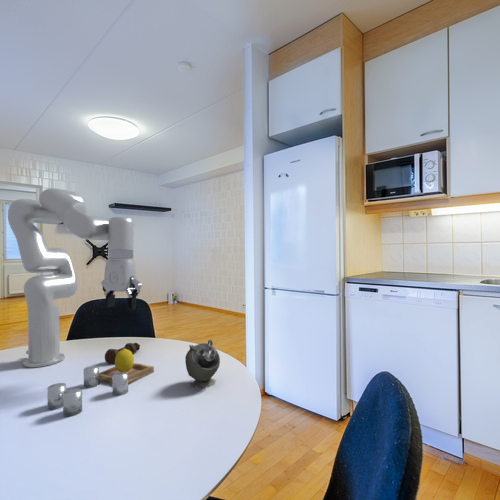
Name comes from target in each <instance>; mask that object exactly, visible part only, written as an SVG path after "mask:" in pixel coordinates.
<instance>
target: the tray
mask: <svg viewBox="0 0 500 500" xmlns="http://www.w3.org/2000/svg"><path fill="white" fill-rule="evenodd" d="M154 370H155V367H154V366H153V365H150V364H149V365H147V364H142V363H137V362H134V363H133V366H132V368H131V369H130V370H129V371H127V373H128V386H129V385H130V384H132V383H134V382H137V381H138V380H140V379H143V378H144V377H147V376H149V375H150V374H153V373H155V371H154ZM118 372H119V371H118V370H117V369H116V367H115V366H112V367H110V368H108V369H105V370H103V371H101V372H100V371H99V382H102V383H106V384H110V385H111V384H112V375H113V374H115V373H118Z"/></svg>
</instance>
